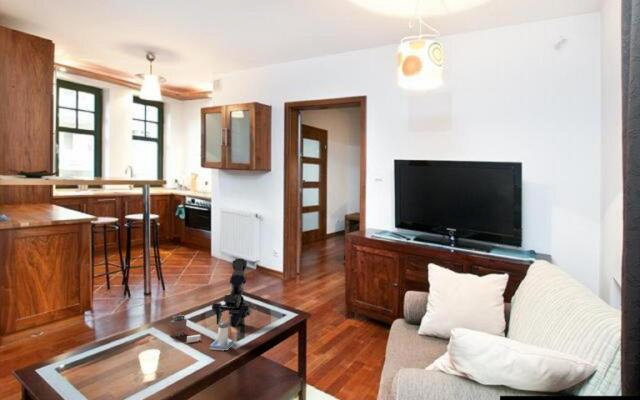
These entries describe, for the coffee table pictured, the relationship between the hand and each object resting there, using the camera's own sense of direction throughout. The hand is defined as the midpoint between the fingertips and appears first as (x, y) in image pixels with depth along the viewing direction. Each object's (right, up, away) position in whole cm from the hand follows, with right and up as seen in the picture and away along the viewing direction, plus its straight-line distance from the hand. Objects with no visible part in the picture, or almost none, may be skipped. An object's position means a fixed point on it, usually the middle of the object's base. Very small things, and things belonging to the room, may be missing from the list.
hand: (226, 325), depth 169 cm
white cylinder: (-1, -8, -5) cm, 9 cm away
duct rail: (-16, -8, 0) cm, 18 cm away
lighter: (-26, -8, +7) cm, 28 cm away
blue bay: (-1, -8, -5) cm, 9 cm away
